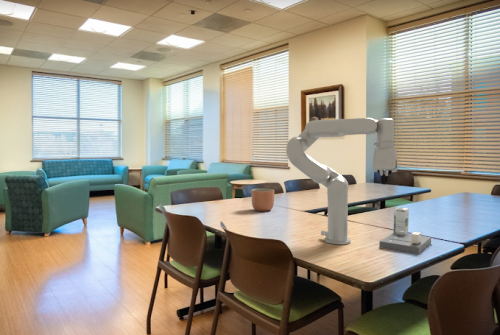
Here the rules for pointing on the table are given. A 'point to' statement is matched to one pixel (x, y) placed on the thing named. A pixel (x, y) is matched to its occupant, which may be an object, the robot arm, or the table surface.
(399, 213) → the syrup box
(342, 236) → the robot arm
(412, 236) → the fader tab
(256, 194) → the planter
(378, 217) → the table surface
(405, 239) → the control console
